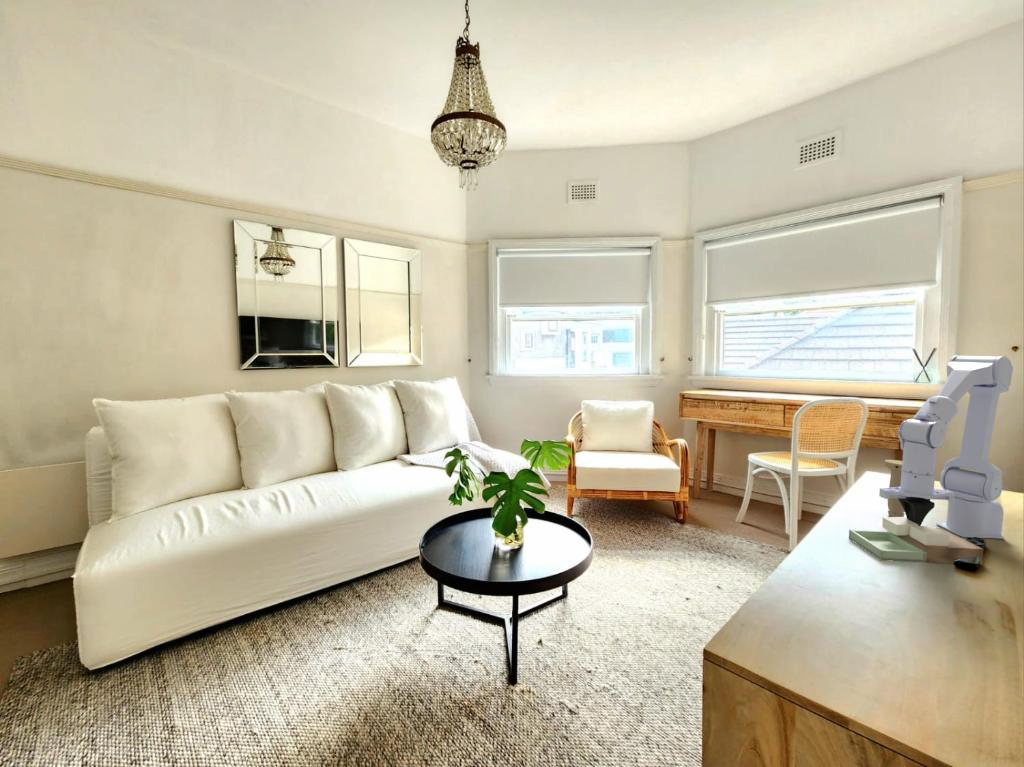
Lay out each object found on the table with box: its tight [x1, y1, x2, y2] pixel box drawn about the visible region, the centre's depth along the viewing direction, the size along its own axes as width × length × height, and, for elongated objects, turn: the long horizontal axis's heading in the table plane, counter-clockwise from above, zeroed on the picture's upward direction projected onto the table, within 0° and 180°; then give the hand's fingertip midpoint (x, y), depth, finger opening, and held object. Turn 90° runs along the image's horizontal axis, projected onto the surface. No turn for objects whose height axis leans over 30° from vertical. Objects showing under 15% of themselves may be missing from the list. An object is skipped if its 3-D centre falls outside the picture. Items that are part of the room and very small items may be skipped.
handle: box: [883, 459, 905, 518], centre depth 122 cm, size 5×6×15 cm
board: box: [897, 527, 984, 566], centre depth 102 cm, size 11×11×4 cm
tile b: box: [910, 525, 949, 546], centre depth 99 cm, size 4×4×2 cm
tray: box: [848, 529, 927, 563], centre depth 103 cm, size 9×11×2 cm
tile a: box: [881, 516, 918, 535], centre depth 105 cm, size 4×4×2 cm
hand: (913, 529), depth 104 cm, fingers closed, pressing on tile a
